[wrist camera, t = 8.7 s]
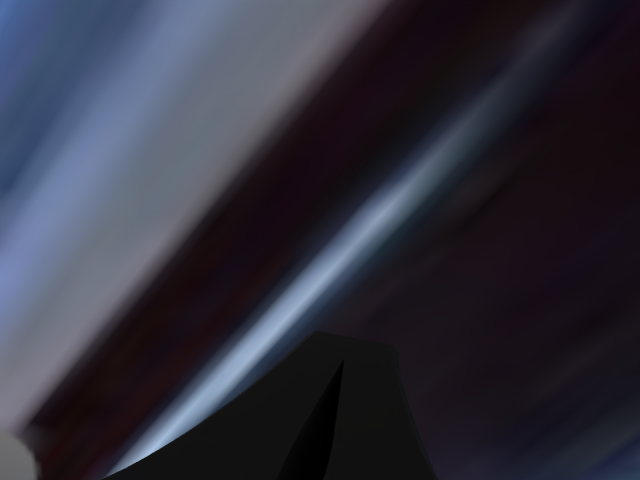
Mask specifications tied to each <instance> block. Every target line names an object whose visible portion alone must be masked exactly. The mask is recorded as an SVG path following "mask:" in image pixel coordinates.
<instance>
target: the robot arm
mask: <svg viewBox="0 0 640 480" xmlns="http://www.w3.org/2000/svg"><path fill="white" fill-rule="evenodd" d="M102 480H438V477H437V475H436V473H435V471H434V469H433V466H432V464H431V462H430V460H429V457H428V455H427V453H426V450H425V448H424V445H423V443H422V441H421V438H420V435H419V432H418V430H417V427H416V424H415V421H414V419H413V416H412V413H411V410H410V407H409V404H408V401H407V398H406V394H405V390H404V386H403V383H402V378H401V374H400V368H399V360H398V352H397V350H396V349H395V348H394V346H393V345H390V344H385V343H379V342H374V341H368V340H363V339H357V338H352V337H346V336H341V335H335V334H330V333H324V332H319V331H314V332H313V333H311V334H310V335H308V336H307V337H306V338H305V339H304V340H303V341H302V342H301V343H300V344H299V345H297V346H296V347H295V348H294V349H293V350H292V351H291V352H290V353H289V354H288V355H287V356H285V357H284V358H283V359H282V360H281V361H280V362H279V363H277V364H276V365H275V366H274V367H273V368H272V369H271V370H269V371H268V372H267V373H266V374H264V375H263V376H262V377H261V378H260V379H258V380H257V381H256V382H255V383H253V384H252V385H251V386H250V387H248V388H247V389H246V390H245V391H244V392H242V393H241V394H240V395H238V396H237V397H236V398H234V399H233V400H232V401H230V402H229V403H228V404H226V405H225V406H223V407H222V408H221V409H219V410H218V411H216V412H215V413H214V414H212V415H211V416H209V417H208V418H207V419H205V420H204V421H202V422H201V423H200V424H198V425H197V426H195V427H194V428H192V429H191V430H189V431H188V432H186V433H185V434H183V435H181V436H180V437H178V438H177V439H175V440H174V441H172V442H170V443H169V444H167V445H165V446H164V447H162V448H160V449H159V450H157V451H155V452H154V453H152V454H150V455H148V456H147V457H145V458H143V459H141V460H140V461H138V462H136V463H134V464H132V465H130V466H129V467H127V468H125V469H123V470H121V471H119V472H116V473H114V474H112V475H110V476H108V477H106V478H104V479H102Z"/></svg>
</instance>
